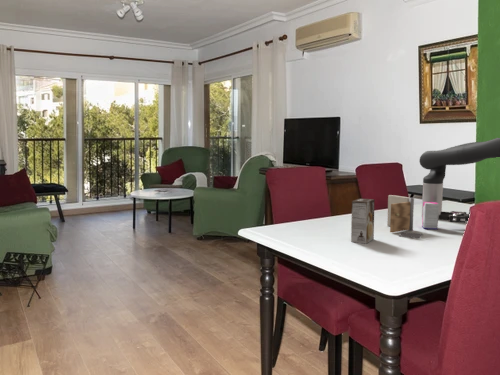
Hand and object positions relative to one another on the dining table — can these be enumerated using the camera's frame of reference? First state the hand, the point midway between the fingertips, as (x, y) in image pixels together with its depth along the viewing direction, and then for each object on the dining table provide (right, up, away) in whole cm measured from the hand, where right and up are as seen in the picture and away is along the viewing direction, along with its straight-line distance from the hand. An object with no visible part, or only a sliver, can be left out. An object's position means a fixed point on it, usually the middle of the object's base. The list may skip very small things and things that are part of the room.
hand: (439, 215), depth 199 cm
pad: (-17, -7, -12) cm, 22 cm away
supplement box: (-3, -6, +2) cm, 7 cm away
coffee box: (-39, -9, -21) cm, 45 cm away
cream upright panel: (-16, -6, +3) cm, 18 cm away
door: (-19, -6, -6) cm, 21 cm away
